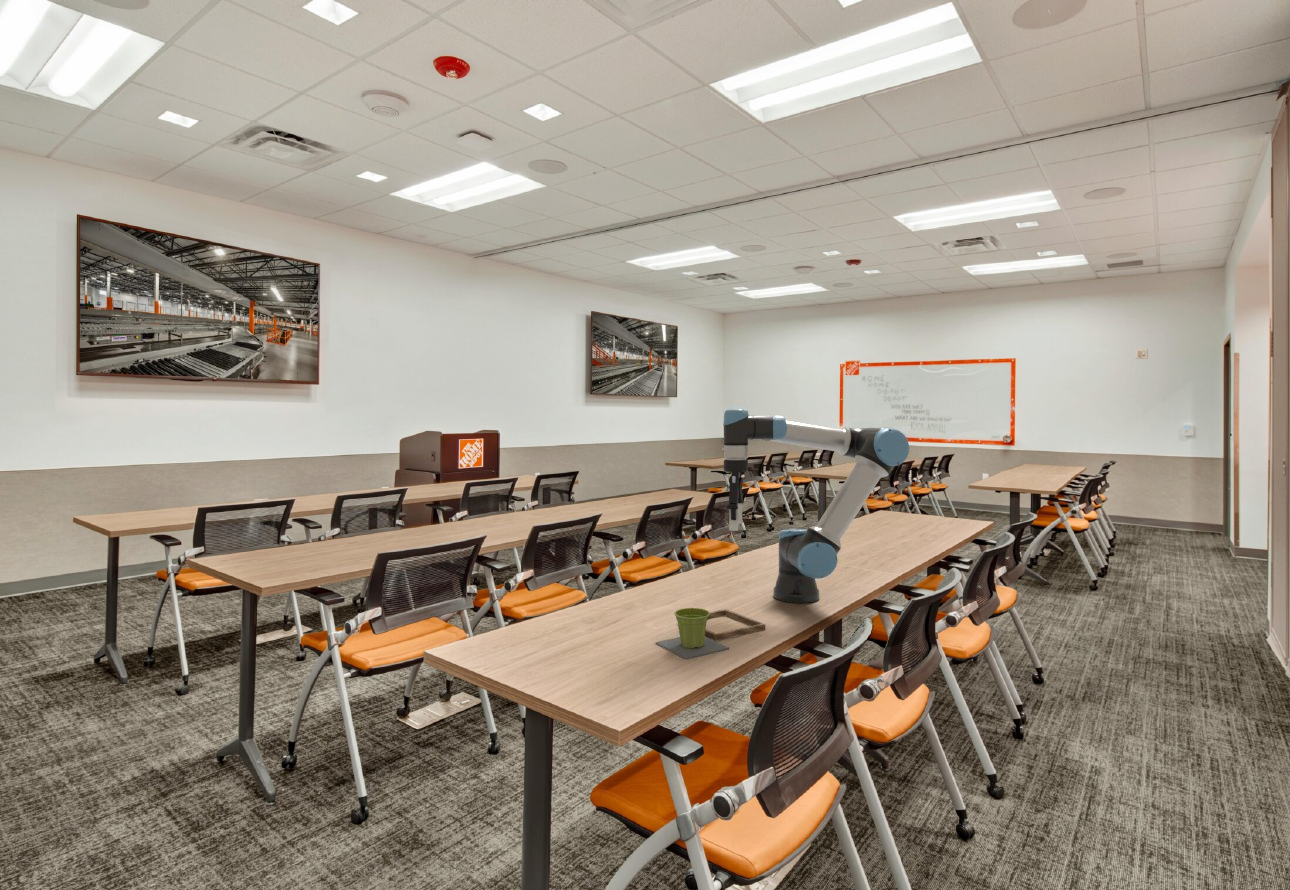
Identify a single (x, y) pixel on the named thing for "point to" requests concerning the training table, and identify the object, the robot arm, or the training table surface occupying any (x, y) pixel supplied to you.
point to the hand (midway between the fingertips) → (735, 527)
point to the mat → (688, 653)
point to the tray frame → (753, 628)
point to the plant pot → (692, 626)
